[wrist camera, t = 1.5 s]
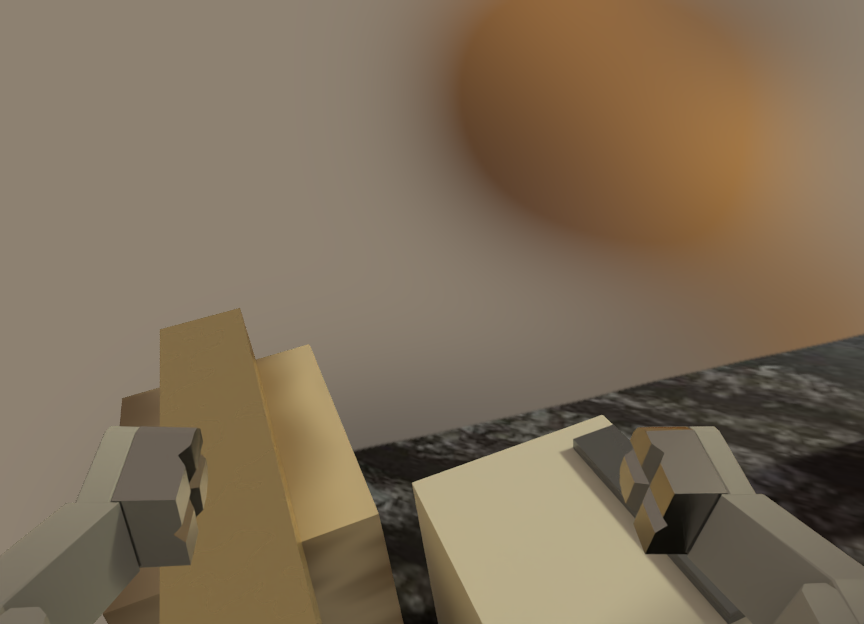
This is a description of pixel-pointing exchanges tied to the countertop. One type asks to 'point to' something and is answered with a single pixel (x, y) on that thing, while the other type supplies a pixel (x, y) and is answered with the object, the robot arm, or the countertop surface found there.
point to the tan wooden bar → (231, 486)
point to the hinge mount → (553, 541)
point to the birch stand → (300, 500)
